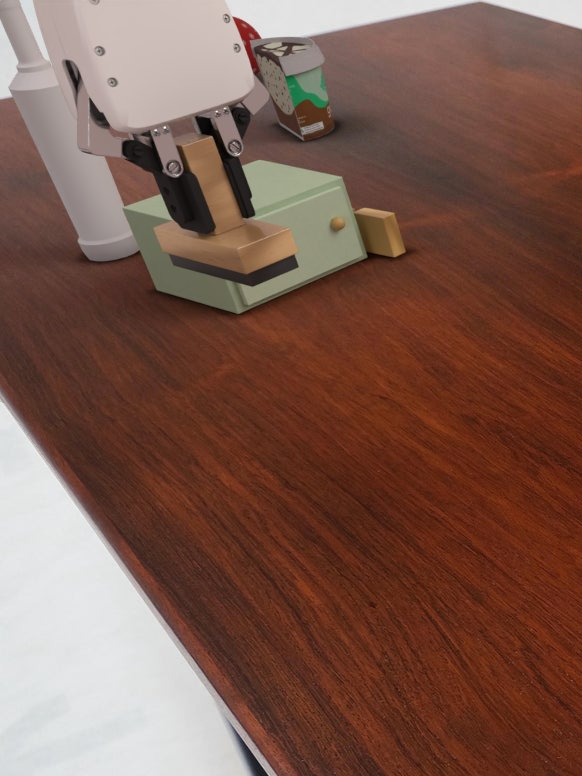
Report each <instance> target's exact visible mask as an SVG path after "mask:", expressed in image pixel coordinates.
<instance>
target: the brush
mask: <svg viewBox="0 0 582 776" xmlns="http://www.w3.org/2000/svg"><path fill="white" fill-rule="evenodd" d="M173 139H174V142H175V145H176V147H177V150H178V153H179V156H180V158H181V161H182V164H183V166H184V169H185V172H190V173H193V174H195V175H196V177H197V179H198V181H199V184H200V187H201V189H202V192H203V194H204V197H205V199H206V202H207V205H208V207H209V210H210V212H211V215H212V218H213V220H214V223H215V225H216V229H215V231H214V232H212V233H209V234H202V233H198V232H194V231H190V230H186V229H182V228H181V227H180V226H179V225H178V223H176V222H175V221H174V220H173V221H170V222H168V223H165V224H162V225H159V226H157V227H154V228H153V229H154V231H155V234H156V236H157V239H158V241H159V243H160V246H161V248H162V251H163V252H164V253H168V254H169V256H170V259H171V261H172V264H173V265H174V266H177V267H181V268H184V269H188V270H192V271H195V272H199V273H203V274H206V275H210V276H214V277H217V278H221V279H225V280H229V281H232V282H236V283H240V284H243V285H247V286H251V287H254V286H256V285H259V284H261V283H263V282H266V281H268V280H270V279H273V278H275V277H277V276H280V275H282V274H284V273H287V272H289V271H291V270H294V269H296V268H298V267H299V266H298V263H297V260H296V257H295V254H297V253H298V250H297V247H296V244H295V241H294V238H293V236H292V233H291V230H290V228H288V227H284V226H279V225H275V224H271V223H267V222H262V221H258V220H254V219H250V218H248V219H246V218H243V217H242V214H241V212H240V209H239V206H238V204H237V201H236V198H235V196H234V193H233V190H232V188H231V185H230V182H229V180H228V177H227V174H226V172H225V169H224V166H223V164H222V160H221V158H220V155H219V152H218V150H217V147H216V144H215V142H214V139H213V137H212V136H208V135H203V134H198V133H196V132H192V131H191V132H188V133H185V134H181V135H179V136H176V137H173Z"/></svg>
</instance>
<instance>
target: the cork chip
mask: <svg viewBox="0 0 582 776" xmlns="http://www.w3.org/2000/svg"><path fill="white" fill-rule="evenodd" d="M353 213H354V216H355V219H356V222H357V225H358V228H359V231H360V235H361V238H362V241H363V244H364V247H365V250H366V253H370V254H375V255H380V256H384V257H389V258H397V257H399V256H400V255H403V254H405V253H406V252H407V251H406V248H405V245H404V242H403V238H402V234H401V231H400V227H399V223H398V221H397V218H396V217H397V216H396V213H395V212H391V211H385V210H381V209H375V208H369V207H362V208H360V209H357V210H355V212H353Z"/></svg>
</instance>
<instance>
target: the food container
mask: <svg viewBox="0 0 582 776" xmlns="http://www.w3.org/2000/svg"><path fill="white" fill-rule="evenodd" d="M250 44H251V49H252V52H253V56H254V58H256V61H257V63H258V66H259V69H260V72H259V73H260V74H261V77H262V80H263V82H264V86H265V88H266V89H267V90H268V92H269V93H270V102H271V105H272V107H273V110H274V113H275V116H276V118H277V121H278V124H279V125H280V126H281V127H282V128H284V129H286V130H287V132H290V133H291V134H293V135H295V136H296V137H297V138H299V139H300V140H302V141H303V142H307V141H310V140H314V139H317V138H320V137H323V136H326V135H328V134H329V133H330V132H332V131H333V130H334V129H335V122H334V117H333V113H332V109H331V104H330V101H329V96H328V92H327V91H328V90H327V87H326V83H325V79H324V75H323V70H322V66H321V65H323V63H325V61H326V58H325V56H324V55H323V52H322V51H321V49H320V47H319V46H318V45H317V44H316V43H315V41H314V40H313V39H311V38H309V37H301V36H277V37H276V36H275V37H265V38H262V39H257V40H251V41H250Z"/></svg>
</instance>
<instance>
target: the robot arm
mask: <svg viewBox="0 0 582 776" xmlns="http://www.w3.org/2000/svg"><path fill="white" fill-rule="evenodd" d="M32 3H33V8H34V11H35V16H36V19H37V23H38V26H39V30H40V33H41V36H42V40H43V43H44V47H45V48H46V52H47V55H48V58H49V61H50V63H51V65H52V67H53V70H54V72H55V75H56V78H57V81H58V83H59V86H60V89H61V91H62V94H63V96H64V99H65V101H66V103H67V106H68V108H69V110H70V112H71V114H72V115H73V117H74V118H75V119H76V121H77V146H78V148H79V150H80V151H82V152H84V153H87V154H92V155H96V156H104V157H105V158H113V159H121V160H122V159H123V160H124V161H127V162H129V163H131V164H133V165H135V166H136V167H139V168H141V169H142V170H143V171H145V172H148V173H151V174H152V176H153V178H154V180H155V182H156V183H155V184H156V185H157V188H158V190H159V194H161V195H162V198H163V200H164V203H165V205H166V208H167V210H168V212H169V215H170V216H171V218H172V219H173V220H174V221H175V222H176V223H178V225H179V226H180V227H181V228H182V229H186V230H190V231H194V232H198V233H202V234H209V233H212V232H214V231H215V229H216V225H215V223H214V220H213V218H212V215H211V212H210V210H209V207H208V205H207V202H206V199H205V197H204V194H203V192H202V189H201V187H200V184H199V181H198V179H197V177H196V175H195V174H193V173H190V172H185V169H184V166H183V164H182V161H181V158H180V156H179V153H178V150H177V147H176V145H175V142H174V139H173V138H174V136H173V133H172V131H171V128H170V126H169V125H171V124H175V123H179V122H182V121H185V120H188V119H190V121H191V124H192V126H193V128H194V130H195V133H198V134H203V135H208V136H212V137H213V139H214V142H215V144H216V147H217V150H218V152H219V155H220V158H221V160H222V164H223V166H224V169H225V172H226V174H227V177H228V180H229V182H230V185H231V188H232V190H233V193H234V196H235V198H236V201H237V204H238V206H239V209H240V212H241V214H242V217H243V218H246V219H248V218H251V217H253V216H255V210H254V208H253V205H252V202H251V198H252V193H251V190H250V187H249V184H248V182H247V179H246V176H245V173H244V171H243V168H242V166H243V165H242V163H241V159H240V156H241V155H242V154H243V153H244V150H245V146H244V142H243V140H244V138H245V135H246V132H247V131H248V128H249V125H250V123H251V120H252V117H255V116H256V115H257V114H258V113H259V112H260V111H261V110H262V108H264V107H265V106H266V104H268V103H269V101H271V99H270V93H269V92H268V90H267V88H266V86H265V84H263V83H262V82H261V81H260V79H259V78H258V77H257V75H256V76H255V75H254V73H253V71H252V68H251V64H250V61H249V58H248V55H247V52H246V49H245V47H244V44H243V42H242V39H241V37H240V34H239V31H238V29H237V27H236V24H235V22H234V20H233V17H234V16H233V15H232V12H231V10H230V8H229V6H228V4H227V1H226V0H32ZM232 16H233V17H232ZM111 128H112V129H113V130H114V131H117V132H118V133H123V134H127V136H128V138H127V137H119V136H114V135H113V134H112V132H111Z"/></svg>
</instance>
